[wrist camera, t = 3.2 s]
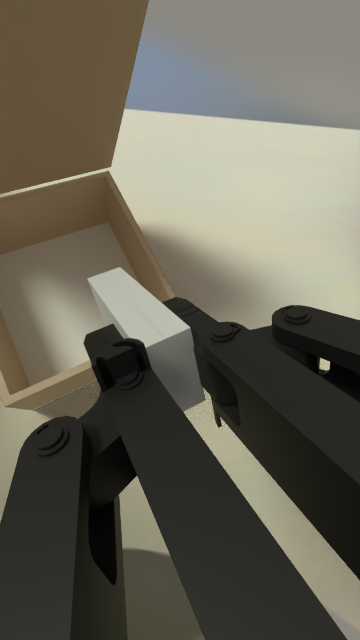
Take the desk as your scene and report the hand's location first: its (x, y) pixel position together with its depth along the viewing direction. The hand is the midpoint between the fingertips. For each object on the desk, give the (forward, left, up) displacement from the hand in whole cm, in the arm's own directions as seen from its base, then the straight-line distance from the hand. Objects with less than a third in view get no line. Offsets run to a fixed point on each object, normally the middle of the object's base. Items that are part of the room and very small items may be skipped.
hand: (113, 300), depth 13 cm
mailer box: (-1, +9, -20) cm, 22 cm away
